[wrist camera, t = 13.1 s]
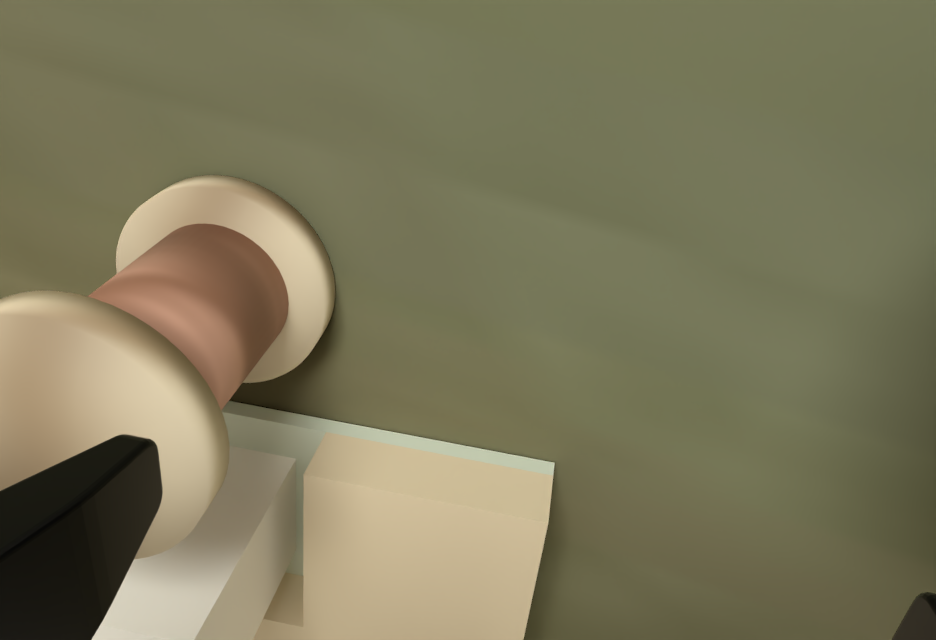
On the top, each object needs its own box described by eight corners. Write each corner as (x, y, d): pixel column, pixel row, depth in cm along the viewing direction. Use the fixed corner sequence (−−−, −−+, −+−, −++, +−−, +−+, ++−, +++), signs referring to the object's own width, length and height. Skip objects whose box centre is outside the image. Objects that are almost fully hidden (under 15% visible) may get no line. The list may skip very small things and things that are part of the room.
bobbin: (337, 193, 21) (197, 347, 14) (333, 380, 24) (216, 584, 17) (123, 159, 21) (-115, 289, 14) (146, 346, 24) (-44, 529, 17)
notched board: (554, 462, 24) (548, 522, 21) (514, 655, 28) (505, 721, 26) (-52, 347, 25) (-116, 391, 23) (1, 545, 30) (-49, 598, 28)
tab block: (296, 549, 26) (201, 745, 20) (184, 526, 27) (59, 711, 21) (296, 458, 24) (191, 645, 18) (175, 434, 25) (34, 609, 19)
